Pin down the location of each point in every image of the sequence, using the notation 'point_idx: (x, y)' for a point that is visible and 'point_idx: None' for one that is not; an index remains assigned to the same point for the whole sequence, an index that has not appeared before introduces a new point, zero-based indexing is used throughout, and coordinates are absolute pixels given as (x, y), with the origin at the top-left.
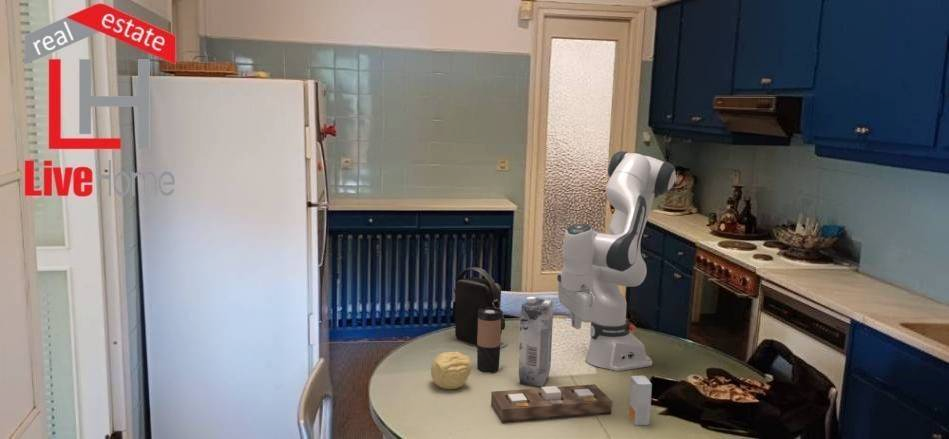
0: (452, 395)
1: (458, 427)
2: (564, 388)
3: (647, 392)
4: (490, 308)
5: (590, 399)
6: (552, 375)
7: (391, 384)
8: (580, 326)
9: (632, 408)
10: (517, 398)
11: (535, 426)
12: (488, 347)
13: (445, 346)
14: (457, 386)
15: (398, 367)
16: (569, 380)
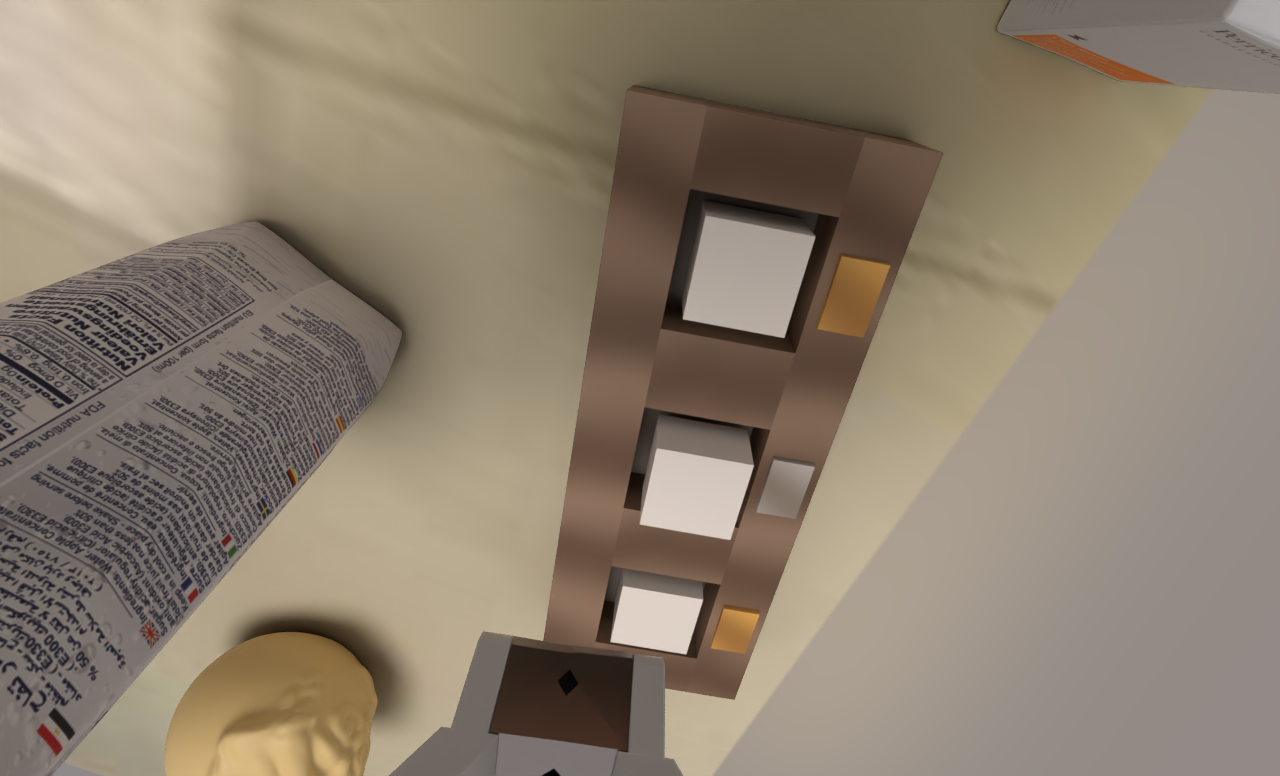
0: (422, 689)
1: (693, 754)
2: (621, 347)
3: None
4: None
5: (857, 297)
6: (221, 167)
7: None
8: (661, 691)
9: (1119, 63)
10: (670, 627)
11: (816, 559)
12: None
13: None
14: (370, 680)
15: (113, 745)
16: (321, 94)
